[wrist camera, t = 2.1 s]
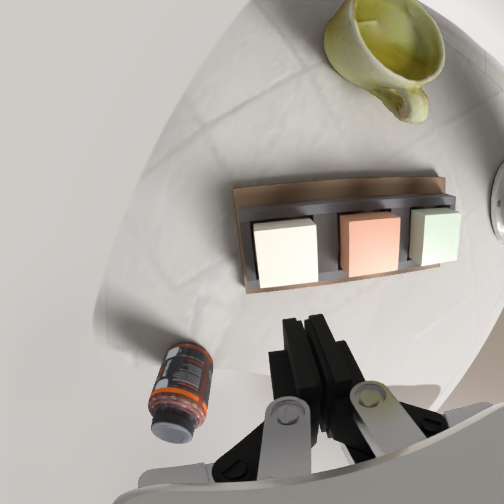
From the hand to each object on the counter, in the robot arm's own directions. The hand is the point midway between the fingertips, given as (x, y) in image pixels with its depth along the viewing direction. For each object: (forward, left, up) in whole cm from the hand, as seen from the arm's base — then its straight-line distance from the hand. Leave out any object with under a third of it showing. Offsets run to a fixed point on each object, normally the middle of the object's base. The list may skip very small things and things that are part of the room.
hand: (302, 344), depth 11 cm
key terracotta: (-8, 0, -13) cm, 15 cm away
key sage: (-15, 0, -13) cm, 20 cm away
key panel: (-8, 0, -16) cm, 18 cm away
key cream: (-1, 0, -13) cm, 13 cm away
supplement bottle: (+11, +14, -16) cm, 24 cm away
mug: (-11, -16, -16) cm, 26 cm away
